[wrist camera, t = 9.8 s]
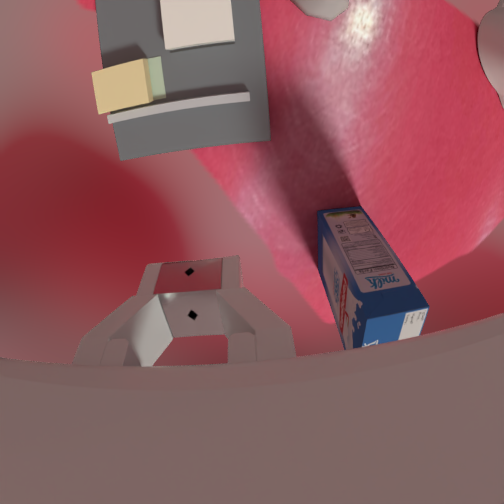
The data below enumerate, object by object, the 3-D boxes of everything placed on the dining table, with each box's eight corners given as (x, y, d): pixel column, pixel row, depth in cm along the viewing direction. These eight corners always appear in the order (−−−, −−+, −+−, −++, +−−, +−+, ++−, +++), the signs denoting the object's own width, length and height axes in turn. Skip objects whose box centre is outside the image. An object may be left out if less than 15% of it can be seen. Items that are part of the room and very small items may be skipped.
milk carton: (317, 210, 42) (367, 319, 25) (361, 205, 42) (429, 306, 25) (317, 270, 47) (354, 382, 31) (357, 264, 47) (406, 370, 31)
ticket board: (254, -37, 24) (256, -46, 21) (269, 138, 36) (273, 145, 33) (98, -7, 24) (86, -12, 21) (123, 157, 36) (114, 167, 33)
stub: (147, 58, 28) (142, 58, 27) (153, 100, 31) (149, 102, 30) (98, 71, 29) (91, 72, 27) (105, 111, 31) (98, 114, 30)
